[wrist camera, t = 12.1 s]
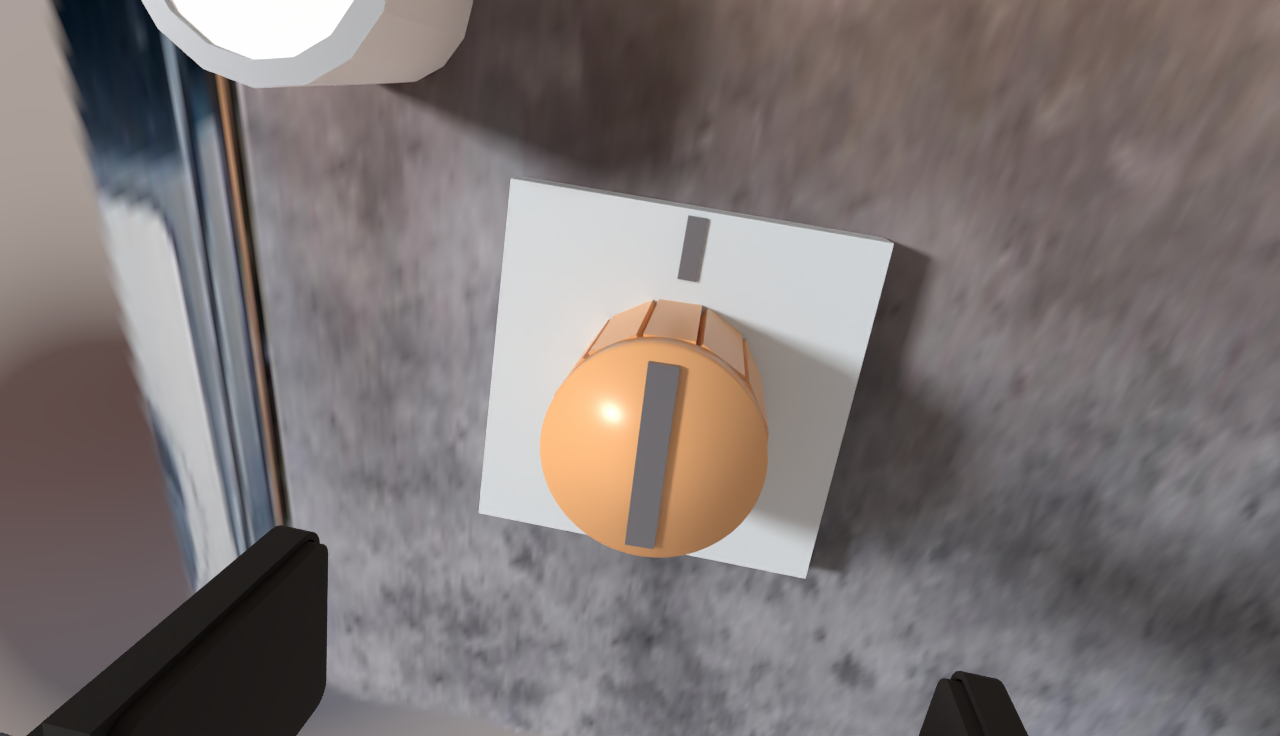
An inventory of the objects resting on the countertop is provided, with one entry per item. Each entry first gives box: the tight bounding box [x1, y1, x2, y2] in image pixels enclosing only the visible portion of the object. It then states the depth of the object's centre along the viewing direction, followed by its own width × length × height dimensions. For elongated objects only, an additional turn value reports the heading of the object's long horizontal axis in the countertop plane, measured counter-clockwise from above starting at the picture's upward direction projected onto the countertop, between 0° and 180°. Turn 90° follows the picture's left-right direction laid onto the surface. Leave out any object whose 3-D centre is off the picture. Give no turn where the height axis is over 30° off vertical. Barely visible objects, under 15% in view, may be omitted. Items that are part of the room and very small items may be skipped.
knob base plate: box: [479, 176, 894, 579], centre depth 23 cm, size 12×12×6 cm
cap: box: [540, 299, 769, 557], centre depth 21 cm, size 6×6×6 cm
